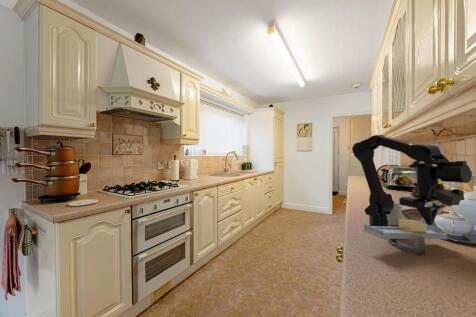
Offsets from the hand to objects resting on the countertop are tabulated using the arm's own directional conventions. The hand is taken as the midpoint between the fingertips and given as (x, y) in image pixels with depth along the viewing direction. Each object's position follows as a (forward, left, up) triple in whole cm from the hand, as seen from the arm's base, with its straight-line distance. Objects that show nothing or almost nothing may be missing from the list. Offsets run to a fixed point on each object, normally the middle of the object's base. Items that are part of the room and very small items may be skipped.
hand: (429, 224), depth 72 cm
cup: (-24, +10, -7) cm, 27 cm away
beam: (0, -11, -2) cm, 11 cm away
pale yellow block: (0, -8, -2) cm, 8 cm away
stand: (0, -11, -7) cm, 13 cm away
